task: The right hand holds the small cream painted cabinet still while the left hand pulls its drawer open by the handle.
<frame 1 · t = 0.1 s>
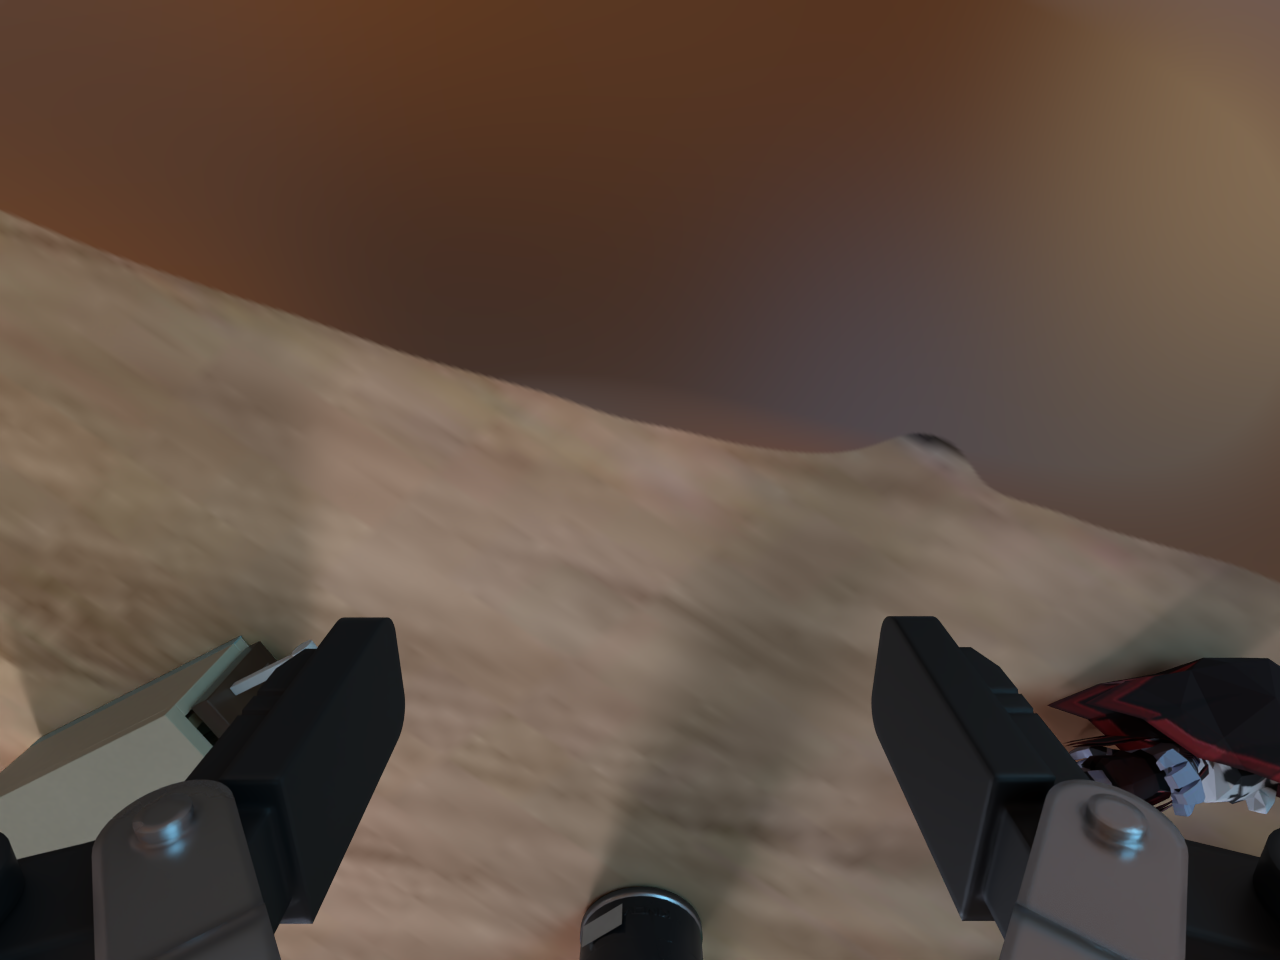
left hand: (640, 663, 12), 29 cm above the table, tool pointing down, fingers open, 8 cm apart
toy: (1133, 694, 47), on the table
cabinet: (169, 722, 48), on the table
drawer: (195, 732, 43), point 4 cm above the table, slide at 0.5 cm
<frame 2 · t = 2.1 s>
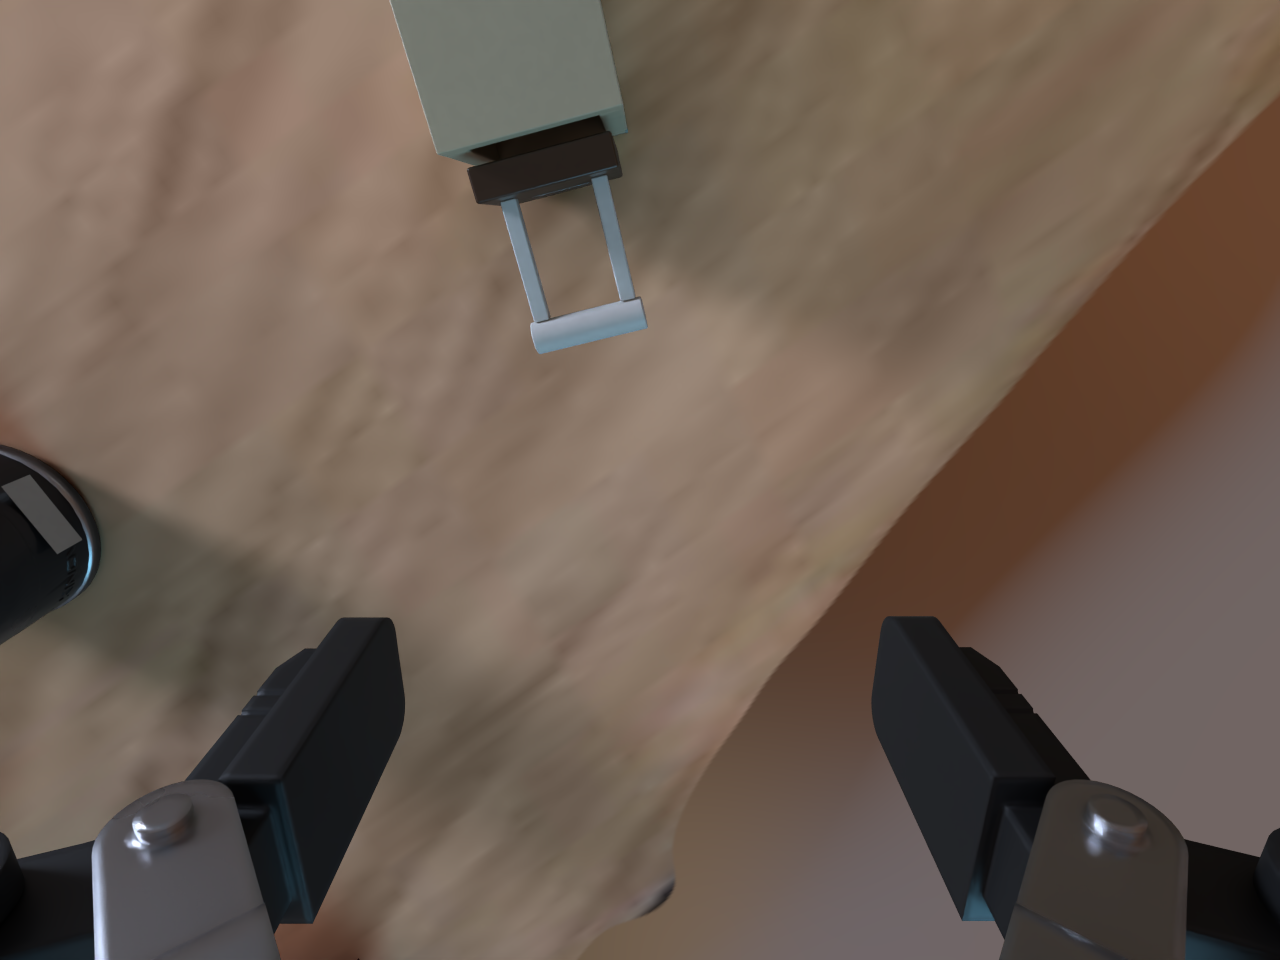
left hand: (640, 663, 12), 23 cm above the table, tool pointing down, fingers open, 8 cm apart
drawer: (517, 37, 25), point 4 cm above the table, slide at 0.5 cm
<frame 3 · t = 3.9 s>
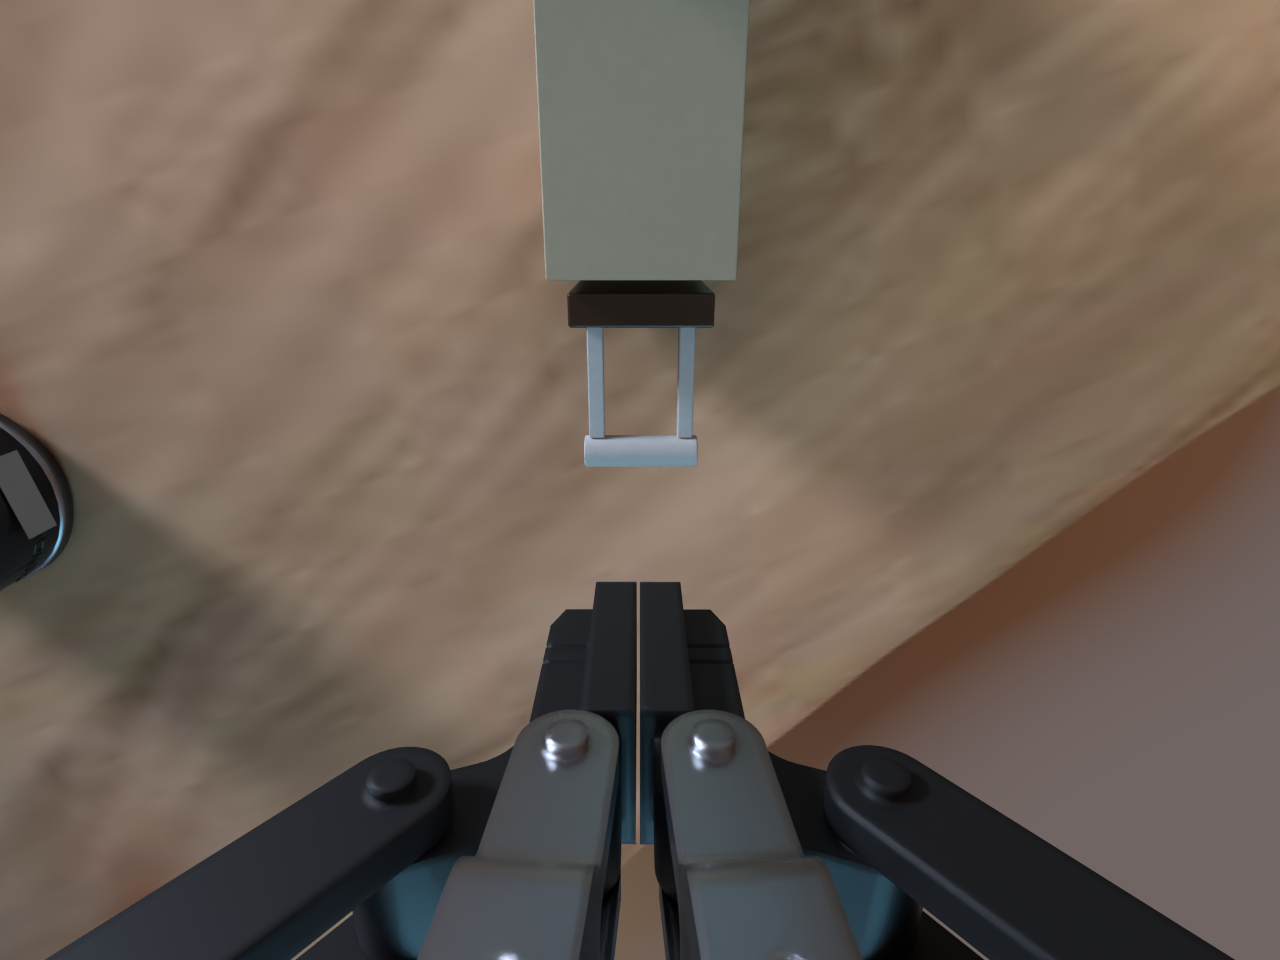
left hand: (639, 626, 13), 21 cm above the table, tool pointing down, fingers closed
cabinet: (640, 33, 28), on the table, touching right hand
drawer: (640, 172, 26), point 4 cm above the table, slide at 0.5 cm
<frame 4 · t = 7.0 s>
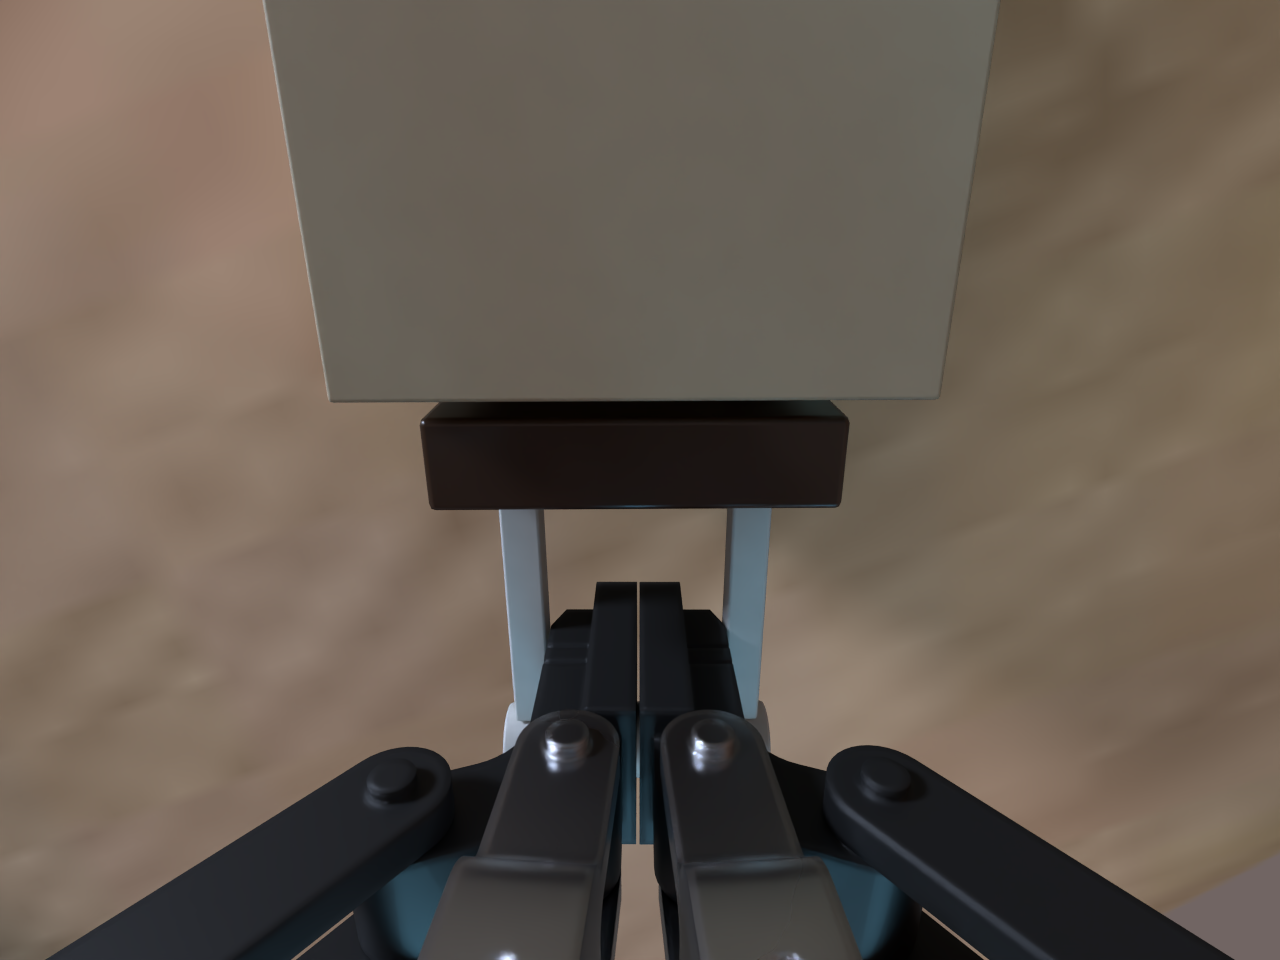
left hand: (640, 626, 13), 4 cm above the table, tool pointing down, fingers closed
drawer: (633, 76, 10), point 4 cm above the table, slide at 0.4 cm, touching left hand
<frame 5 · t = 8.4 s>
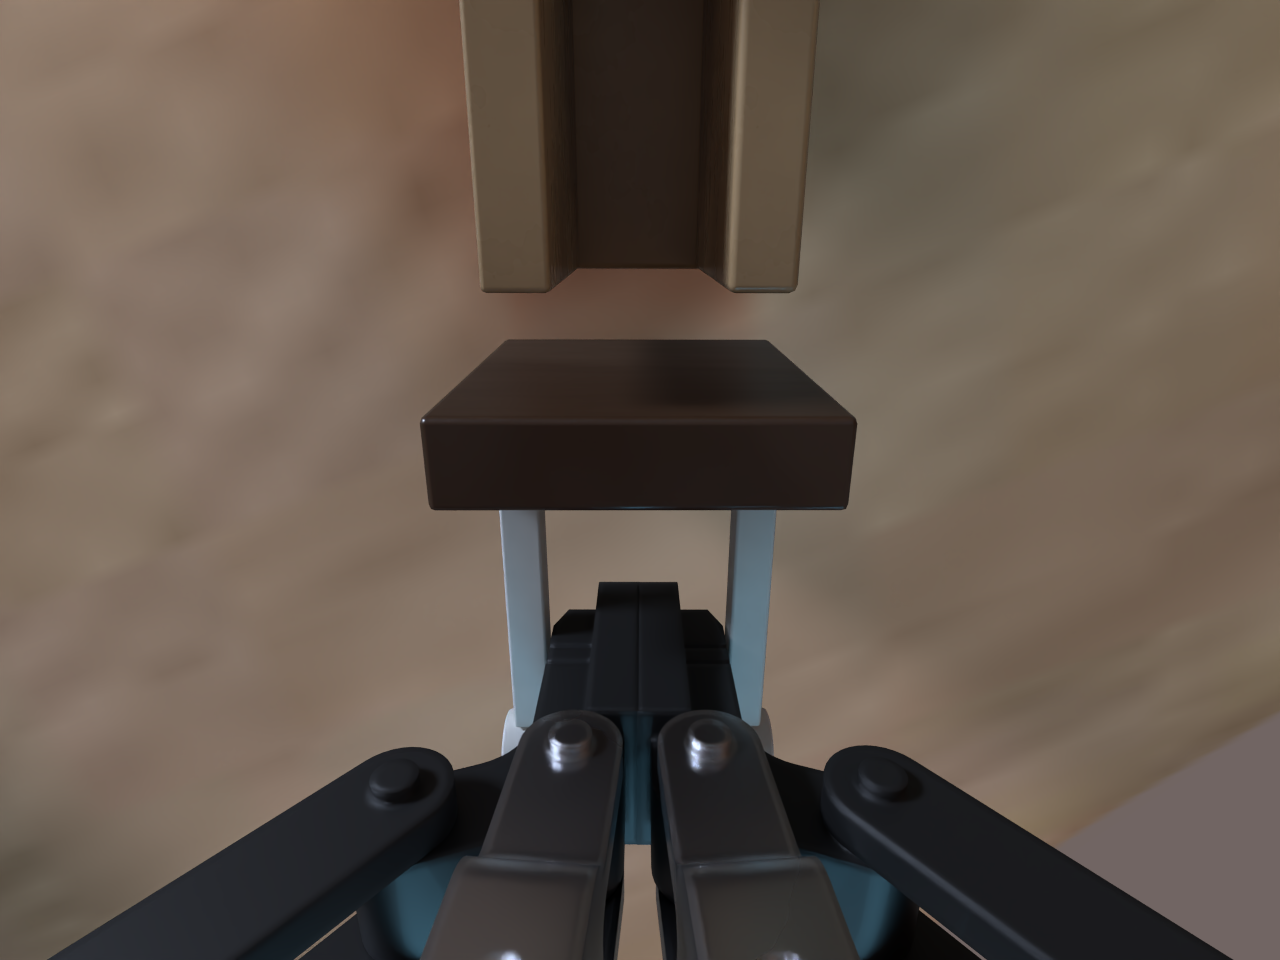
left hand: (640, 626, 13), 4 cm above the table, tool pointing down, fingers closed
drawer: (638, 73, 10), point 4 cm above the table, slide at 7.4 cm, touching left hand
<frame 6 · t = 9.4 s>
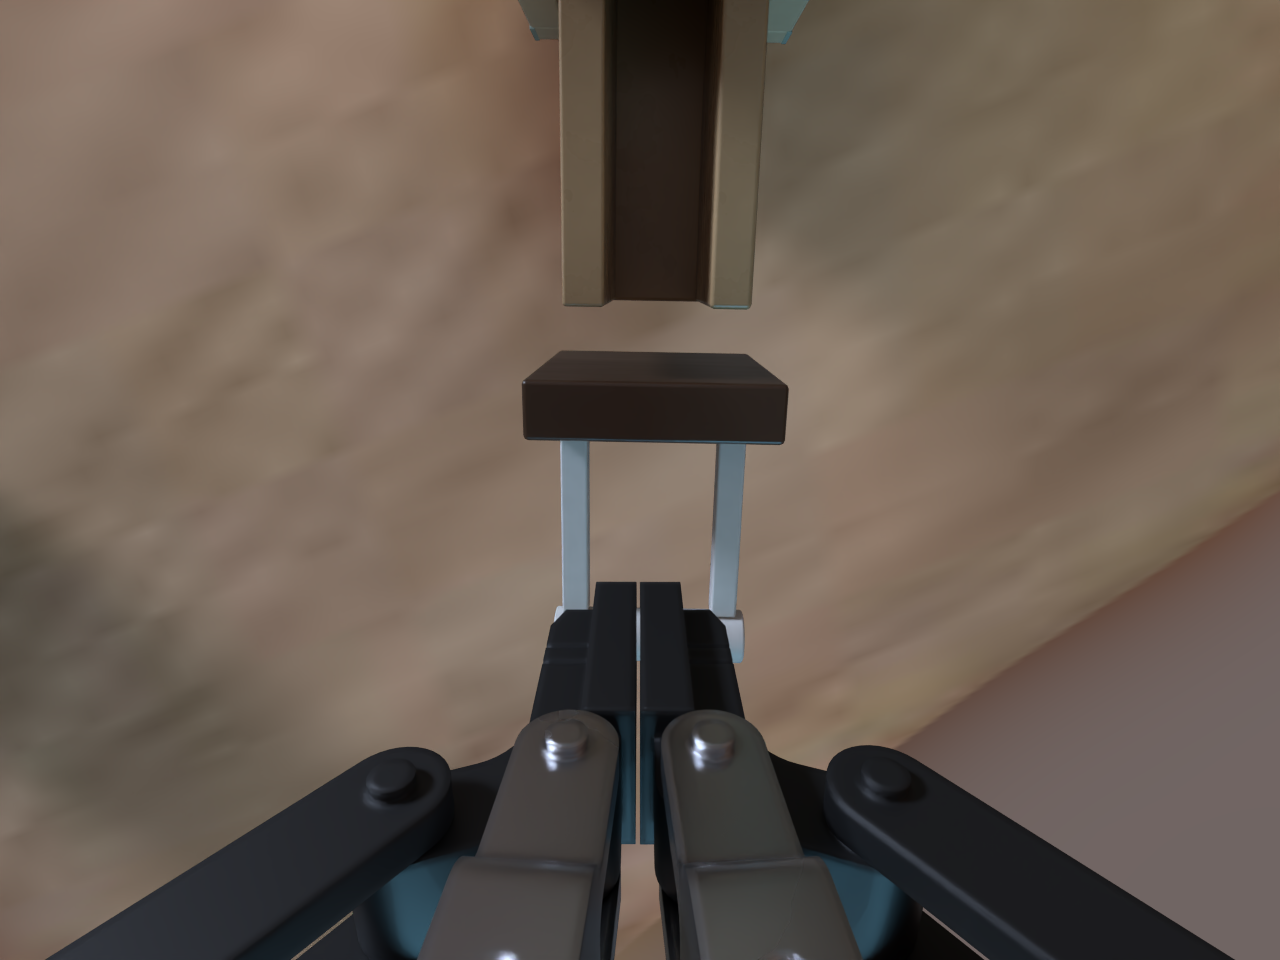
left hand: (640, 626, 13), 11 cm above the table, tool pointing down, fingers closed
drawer: (658, 177, 15), point 5 cm above the table, slide at 7.7 cm
when the right hand's fingers open (5 cm above the table, at t = 10.5 s): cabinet stays where it is, on the table.
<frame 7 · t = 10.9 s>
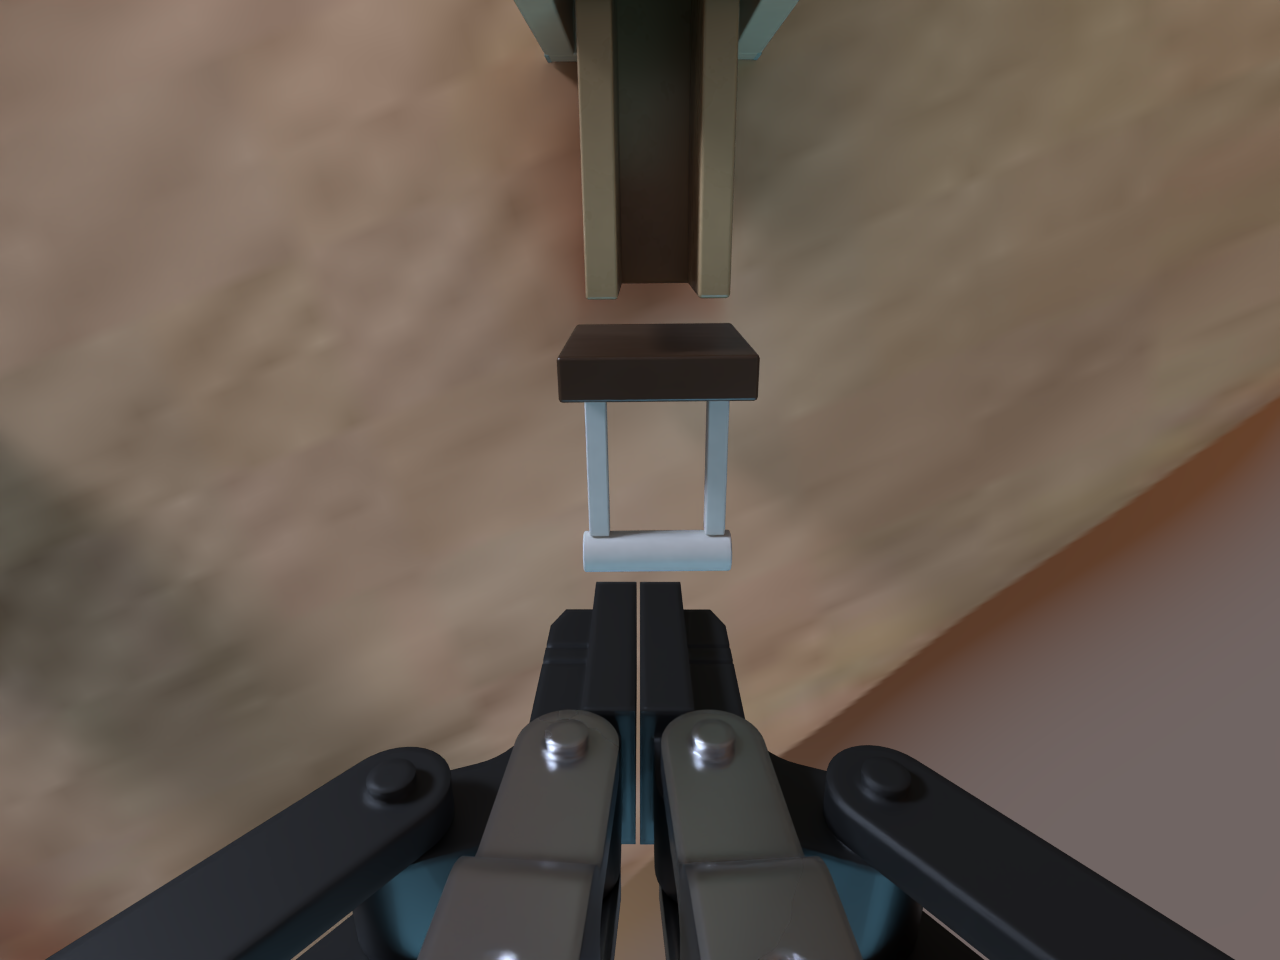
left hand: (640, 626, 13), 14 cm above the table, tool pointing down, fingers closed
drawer: (655, 188, 19), point 4 cm above the table, slide at 7.8 cm
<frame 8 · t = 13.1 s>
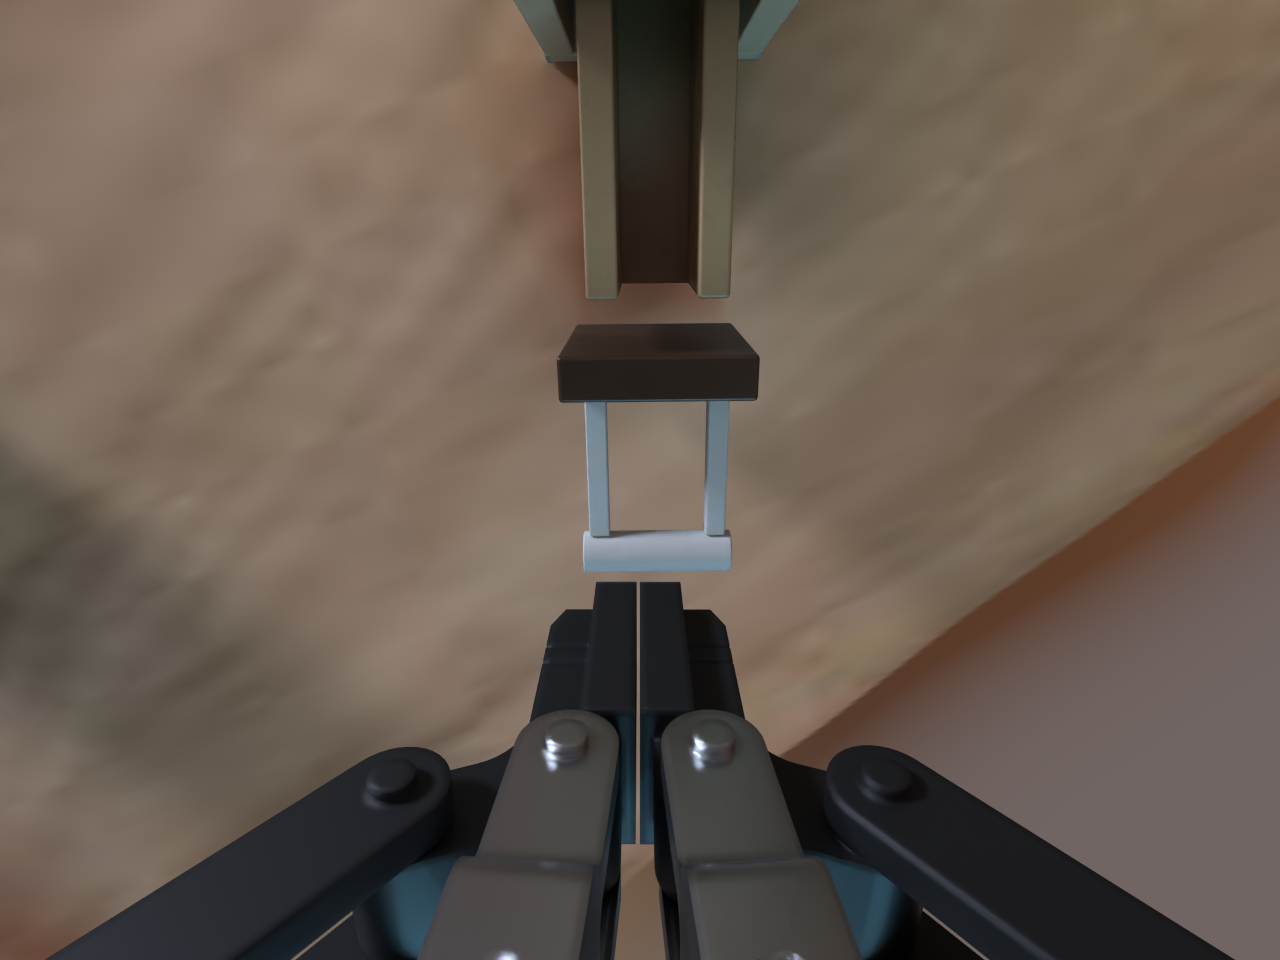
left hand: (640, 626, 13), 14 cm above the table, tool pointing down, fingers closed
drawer: (655, 188, 19), point 4 cm above the table, slide at 7.8 cm
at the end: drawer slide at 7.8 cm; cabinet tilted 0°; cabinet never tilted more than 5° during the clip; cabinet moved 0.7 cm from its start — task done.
